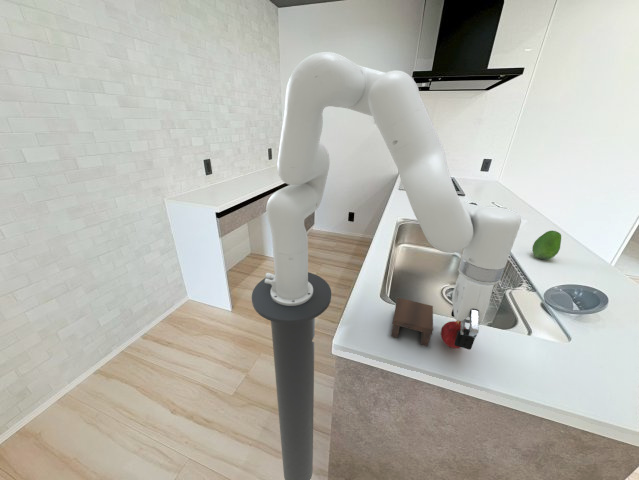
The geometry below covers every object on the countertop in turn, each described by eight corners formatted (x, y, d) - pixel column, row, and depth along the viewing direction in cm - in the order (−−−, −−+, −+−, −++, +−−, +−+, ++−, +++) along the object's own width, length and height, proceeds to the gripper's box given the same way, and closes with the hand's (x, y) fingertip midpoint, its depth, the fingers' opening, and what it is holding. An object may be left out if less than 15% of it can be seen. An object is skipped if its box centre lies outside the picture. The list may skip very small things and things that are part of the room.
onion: (463, 360, 59) (473, 334, 55) (436, 349, 61) (444, 324, 58) (464, 342, 63) (473, 317, 60) (439, 333, 66) (446, 309, 62)
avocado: (558, 264, 98) (572, 235, 93) (535, 262, 99) (547, 233, 94) (546, 254, 105) (558, 227, 100) (524, 252, 106) (535, 225, 101)
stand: (390, 336, 65) (393, 319, 62) (394, 313, 72) (397, 297, 70) (428, 347, 62) (433, 330, 59) (428, 321, 69) (432, 305, 67)
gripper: (456, 246, 61) (441, 304, 68) (464, 287, 46) (444, 355, 54) (492, 252, 58) (473, 311, 66) (513, 297, 44) (485, 366, 51)
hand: (460, 330), depth 60 cm, fingers open, 9 cm apart
